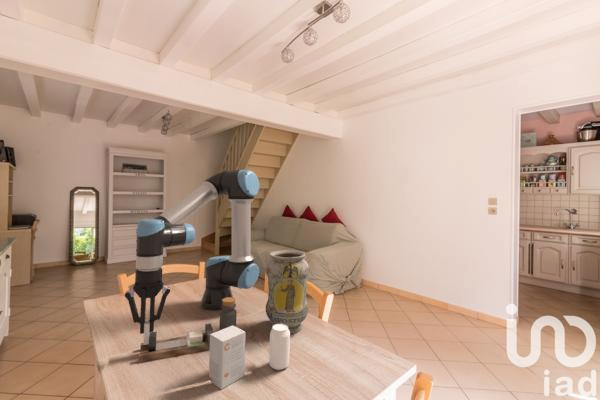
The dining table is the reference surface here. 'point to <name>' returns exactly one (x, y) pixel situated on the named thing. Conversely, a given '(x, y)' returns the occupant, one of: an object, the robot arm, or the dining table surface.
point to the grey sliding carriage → (166, 343)
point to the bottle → (228, 313)
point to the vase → (287, 289)
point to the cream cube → (196, 337)
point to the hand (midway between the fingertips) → (146, 342)
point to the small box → (227, 356)
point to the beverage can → (279, 346)
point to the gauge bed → (177, 351)
